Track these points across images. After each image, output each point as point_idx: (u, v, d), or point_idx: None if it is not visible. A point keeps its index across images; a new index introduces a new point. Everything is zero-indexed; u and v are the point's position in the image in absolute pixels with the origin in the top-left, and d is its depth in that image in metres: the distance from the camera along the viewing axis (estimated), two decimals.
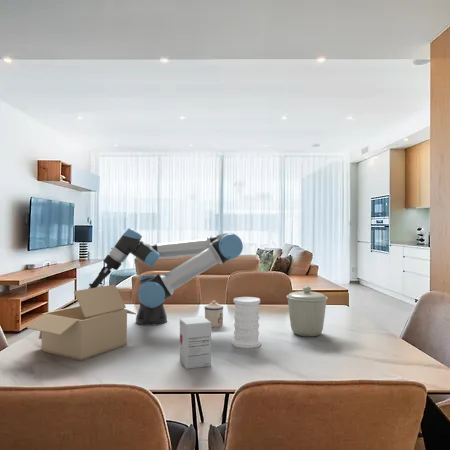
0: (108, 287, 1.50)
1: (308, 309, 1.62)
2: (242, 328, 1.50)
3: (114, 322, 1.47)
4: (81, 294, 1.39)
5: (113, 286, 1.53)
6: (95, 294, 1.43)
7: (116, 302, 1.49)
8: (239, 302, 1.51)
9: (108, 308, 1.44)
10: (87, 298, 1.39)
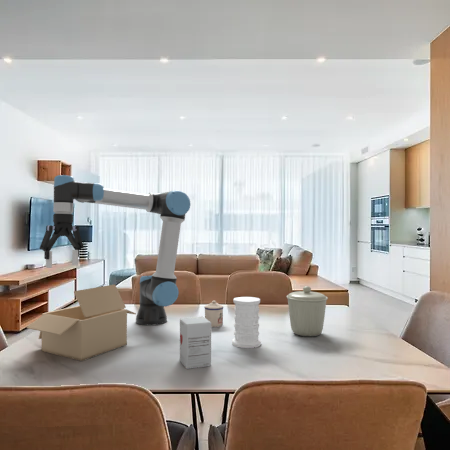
0: (108, 287, 1.50)
1: (308, 309, 1.62)
2: (242, 328, 1.50)
3: (114, 322, 1.47)
4: (81, 294, 1.39)
5: (113, 286, 1.53)
6: (95, 294, 1.43)
7: (116, 302, 1.49)
8: (239, 302, 1.51)
9: (108, 308, 1.44)
10: (87, 298, 1.39)
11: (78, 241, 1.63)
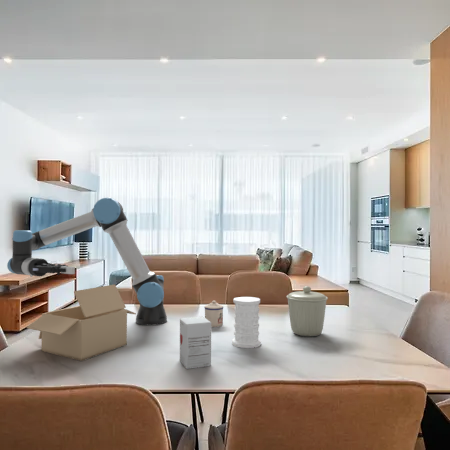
0: (108, 287, 1.50)
1: (308, 309, 1.62)
2: (242, 328, 1.50)
3: (114, 322, 1.47)
4: (81, 294, 1.39)
5: (113, 286, 1.53)
6: (95, 294, 1.43)
7: (116, 302, 1.49)
8: (239, 302, 1.51)
9: (108, 308, 1.44)
10: (87, 298, 1.39)
11: None
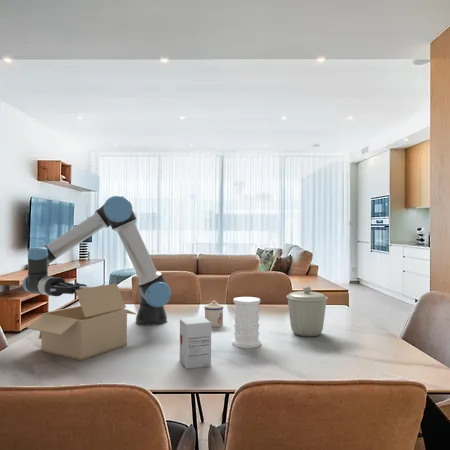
0: (109, 286, 1.50)
1: (308, 309, 1.62)
2: (242, 328, 1.50)
3: (114, 322, 1.47)
4: (83, 293, 1.38)
5: (114, 285, 1.52)
6: (96, 293, 1.43)
7: (116, 302, 1.49)
8: (239, 302, 1.51)
9: (109, 308, 1.44)
10: (88, 297, 1.39)
11: None
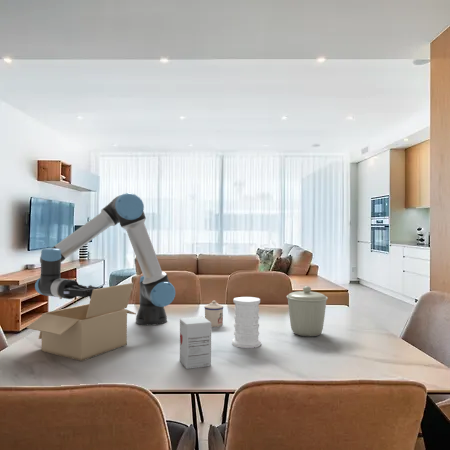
0: (125, 286, 1.46)
1: (308, 309, 1.62)
2: (242, 328, 1.50)
3: (114, 322, 1.47)
4: (98, 293, 1.35)
5: (130, 285, 1.48)
6: (109, 294, 1.40)
7: (122, 302, 1.47)
8: (239, 302, 1.51)
9: (111, 309, 1.43)
10: (99, 298, 1.36)
11: None
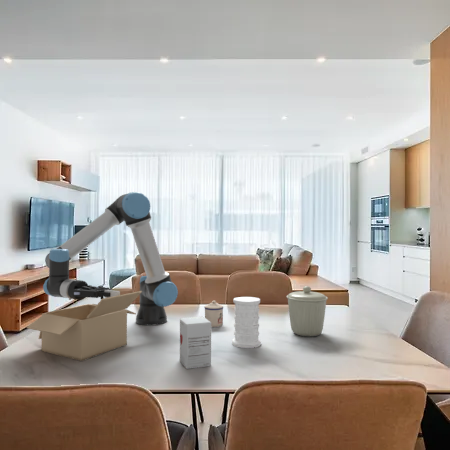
0: (133, 294, 1.44)
1: (308, 309, 1.62)
2: (242, 328, 1.50)
3: (114, 322, 1.47)
4: (105, 301, 1.33)
5: (138, 293, 1.46)
6: (116, 301, 1.38)
7: (124, 305, 1.47)
8: (239, 302, 1.51)
9: (112, 310, 1.43)
10: (105, 304, 1.35)
11: None
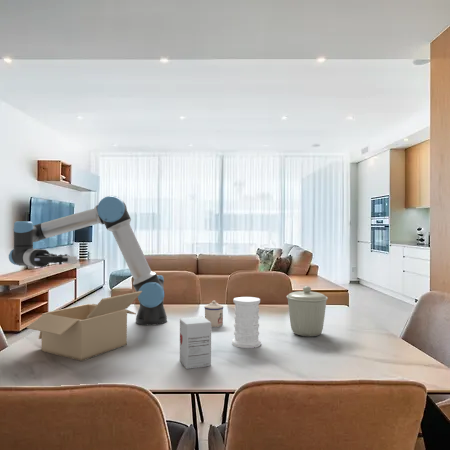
0: (133, 294, 1.44)
1: (308, 309, 1.62)
2: (242, 328, 1.50)
3: (114, 322, 1.47)
4: (106, 301, 1.33)
5: (138, 293, 1.46)
6: (116, 301, 1.38)
7: (124, 305, 1.47)
8: (239, 302, 1.51)
9: (112, 310, 1.43)
10: (105, 304, 1.35)
11: None
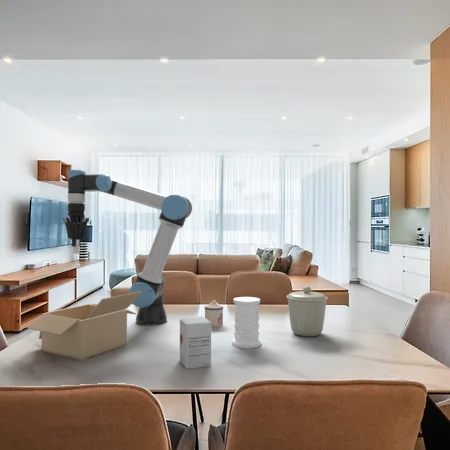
0: (133, 294, 1.44)
1: (308, 309, 1.62)
2: (242, 328, 1.50)
3: (114, 322, 1.47)
4: (106, 301, 1.33)
5: (138, 293, 1.46)
6: (116, 301, 1.38)
7: (124, 305, 1.47)
8: (239, 302, 1.51)
9: (112, 310, 1.43)
10: (105, 304, 1.35)
11: (82, 231, 1.82)
